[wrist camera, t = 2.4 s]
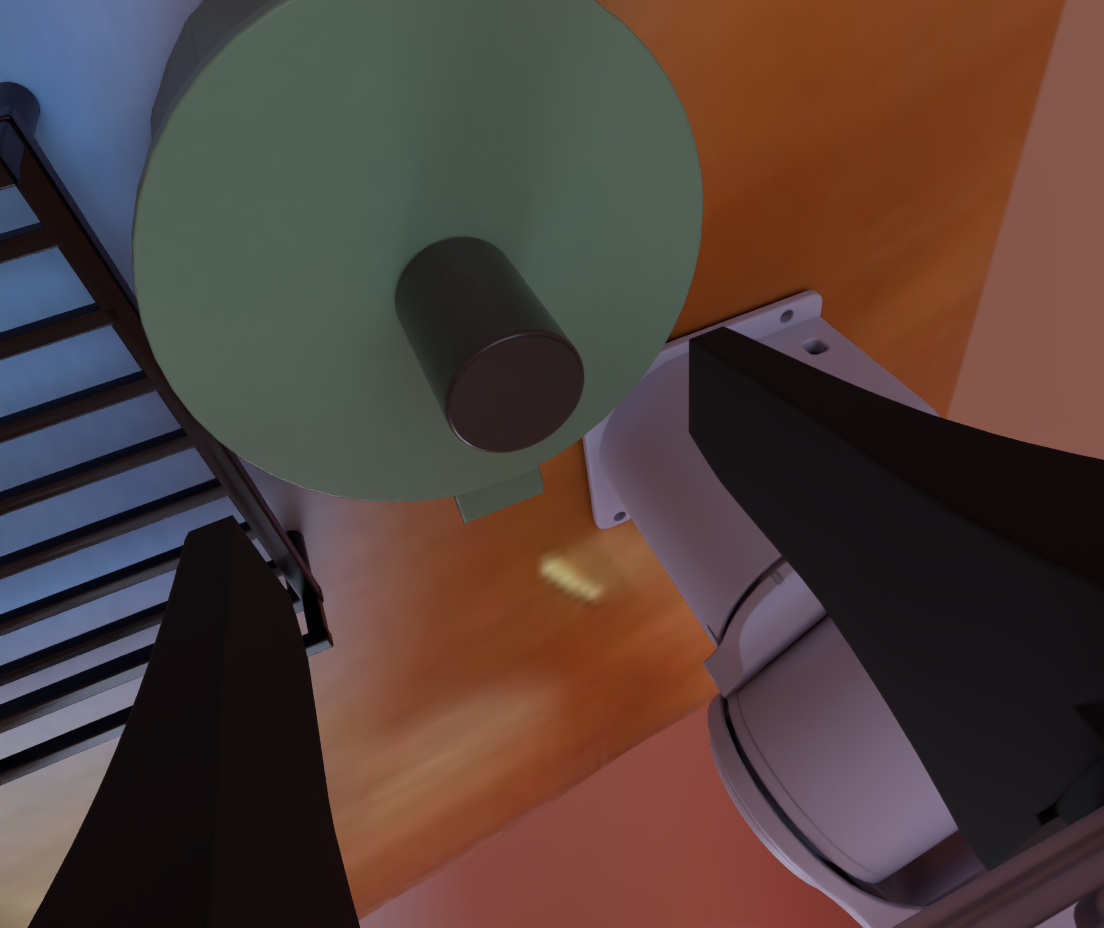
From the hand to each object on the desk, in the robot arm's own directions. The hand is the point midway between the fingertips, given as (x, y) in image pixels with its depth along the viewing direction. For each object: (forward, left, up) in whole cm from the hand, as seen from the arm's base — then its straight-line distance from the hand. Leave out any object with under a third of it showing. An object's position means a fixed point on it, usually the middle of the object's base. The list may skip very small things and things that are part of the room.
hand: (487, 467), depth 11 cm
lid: (-1, 0, -5) cm, 5 cm away
